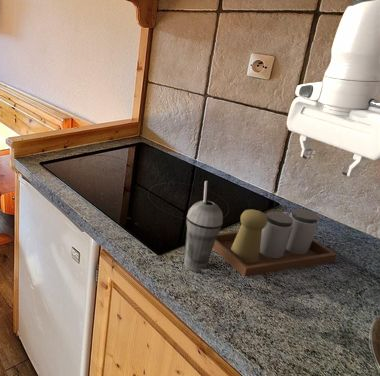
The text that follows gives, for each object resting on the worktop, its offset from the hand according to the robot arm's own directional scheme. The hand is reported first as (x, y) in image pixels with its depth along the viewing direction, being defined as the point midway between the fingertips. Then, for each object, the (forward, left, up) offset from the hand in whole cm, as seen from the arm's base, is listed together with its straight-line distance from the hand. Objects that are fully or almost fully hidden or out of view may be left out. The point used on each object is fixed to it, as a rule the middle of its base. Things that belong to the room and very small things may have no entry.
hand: (326, 166), depth 78 cm
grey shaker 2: (-7, -7, -24) cm, 26 cm away
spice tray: (+1, -7, -25) cm, 25 cm away
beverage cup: (+20, -7, -25) cm, 32 cm away
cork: (+7, -7, -24) cm, 26 cm away
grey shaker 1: (0, -7, -24) cm, 25 cm away
